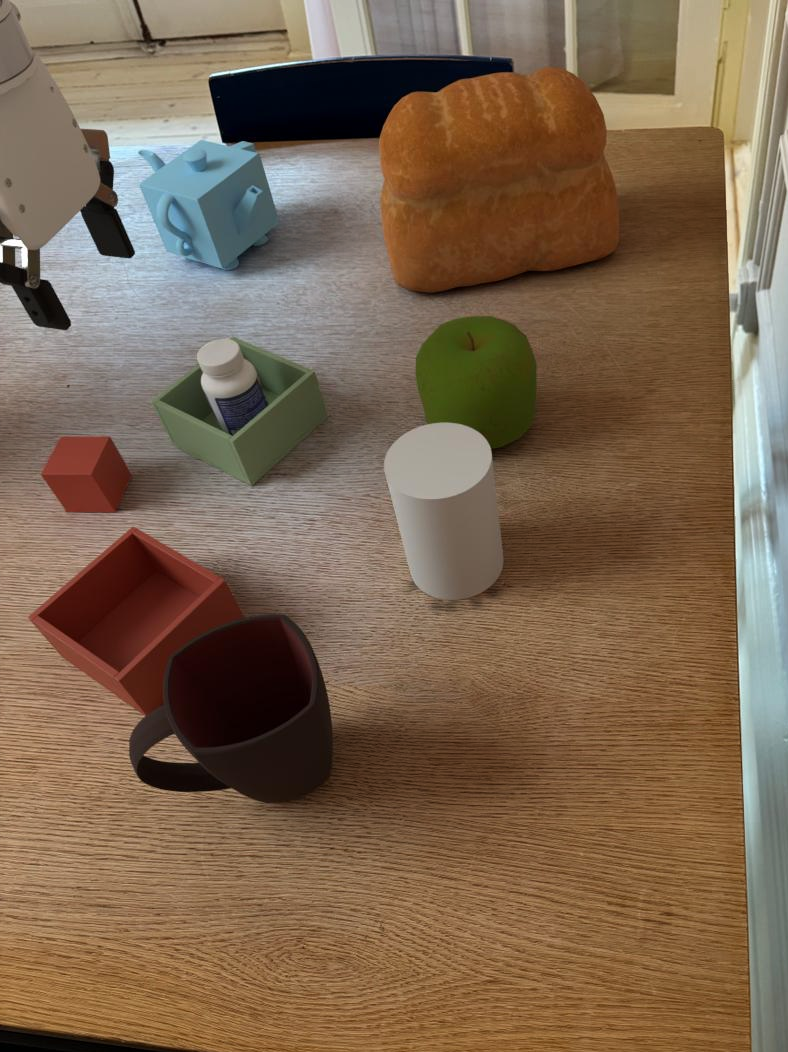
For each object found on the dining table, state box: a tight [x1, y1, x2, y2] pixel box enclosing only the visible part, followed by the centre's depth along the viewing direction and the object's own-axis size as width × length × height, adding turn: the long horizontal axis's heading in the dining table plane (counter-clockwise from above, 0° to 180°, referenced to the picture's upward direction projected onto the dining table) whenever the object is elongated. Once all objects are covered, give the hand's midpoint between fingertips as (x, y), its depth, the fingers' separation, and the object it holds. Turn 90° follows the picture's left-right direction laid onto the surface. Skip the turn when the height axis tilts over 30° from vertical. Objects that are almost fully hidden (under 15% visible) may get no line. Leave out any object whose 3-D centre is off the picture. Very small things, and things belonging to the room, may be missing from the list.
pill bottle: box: [196, 338, 269, 436], centre depth 84 cm, size 5×5×9 cm
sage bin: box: [150, 336, 329, 487], centre depth 86 cm, size 11×11×6 cm
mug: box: [128, 613, 334, 804], centre depth 61 cm, size 10×14×12 cm
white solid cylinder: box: [383, 423, 505, 601], centre depth 71 cm, size 8×8×12 cm
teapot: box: [137, 139, 280, 271], centre depth 104 cm, size 16×18×11 cm
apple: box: [415, 315, 538, 450], centre depth 81 cm, size 11×11×11 cm
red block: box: [40, 435, 133, 513], centre depth 83 cm, size 5×5×5 cm
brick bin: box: [27, 525, 246, 717], centre depth 72 cm, size 11×11×6 cm
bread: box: [378, 66, 620, 294], centre depth 95 cm, size 16×26×17 cm, turn 100°
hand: (87, 289), depth 71 cm, fingers open, 9 cm apart
